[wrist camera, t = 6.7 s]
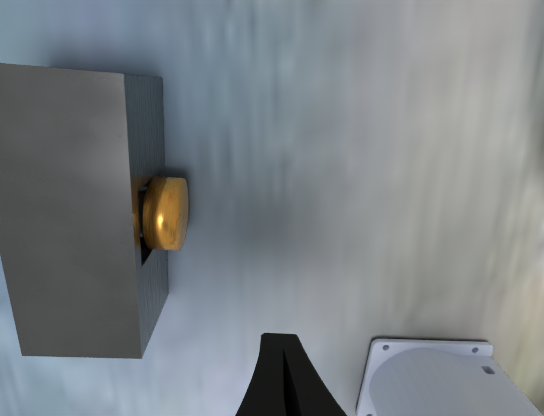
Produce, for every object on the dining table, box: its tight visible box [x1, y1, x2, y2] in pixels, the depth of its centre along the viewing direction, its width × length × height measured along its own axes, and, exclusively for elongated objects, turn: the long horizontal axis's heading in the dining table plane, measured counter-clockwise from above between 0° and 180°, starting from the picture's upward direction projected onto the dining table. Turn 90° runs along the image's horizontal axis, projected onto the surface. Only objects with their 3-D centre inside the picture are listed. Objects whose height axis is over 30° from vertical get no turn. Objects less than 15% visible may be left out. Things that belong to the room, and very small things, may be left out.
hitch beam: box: [0, 63, 168, 359], centre depth 18 cm, size 6×14×6 cm, turn 175°
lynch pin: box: [137, 176, 189, 251], centre depth 18 cm, size 12×4×4 cm, turn 85°
